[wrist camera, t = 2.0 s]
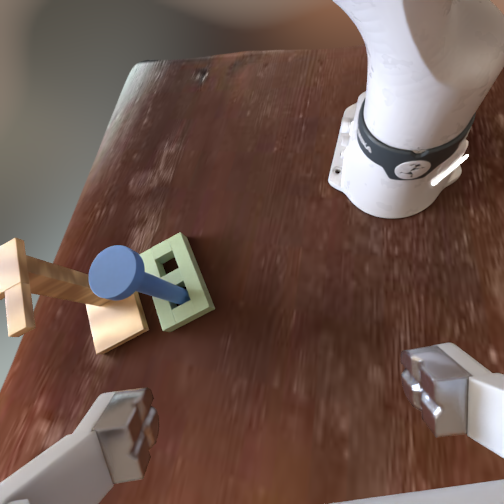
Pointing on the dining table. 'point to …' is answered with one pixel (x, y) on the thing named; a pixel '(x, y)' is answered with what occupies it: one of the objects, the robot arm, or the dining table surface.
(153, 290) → the peg
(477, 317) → the dining table surface
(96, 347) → the stand
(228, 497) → the dining table surface
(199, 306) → the holder
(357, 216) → the dining table surface
